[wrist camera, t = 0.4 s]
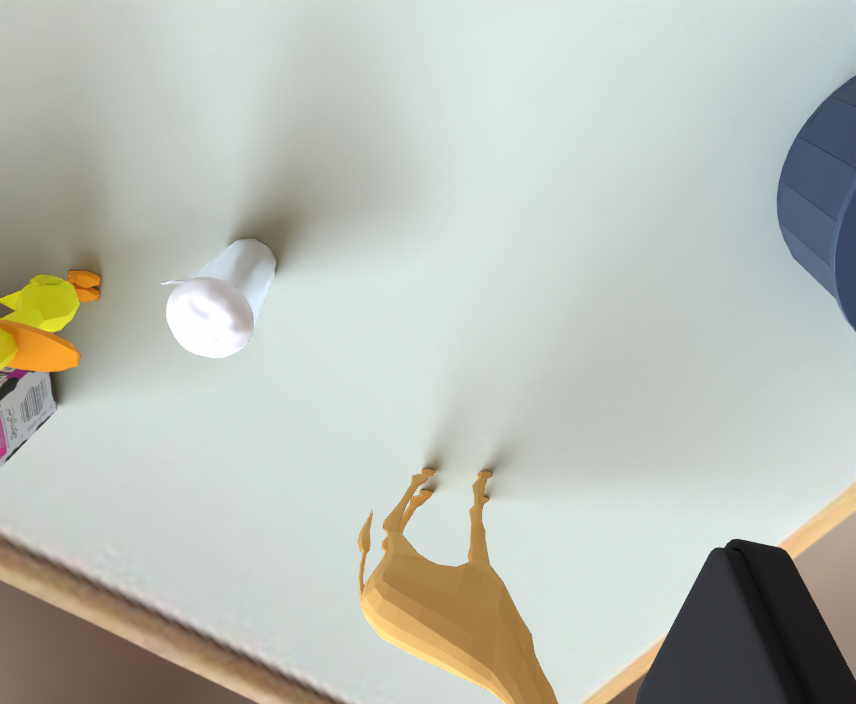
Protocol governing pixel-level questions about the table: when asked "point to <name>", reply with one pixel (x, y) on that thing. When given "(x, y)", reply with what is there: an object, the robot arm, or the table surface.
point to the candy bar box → (23, 407)
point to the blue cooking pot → (818, 182)
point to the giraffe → (451, 607)
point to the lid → (845, 257)
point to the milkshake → (222, 300)
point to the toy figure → (44, 322)
